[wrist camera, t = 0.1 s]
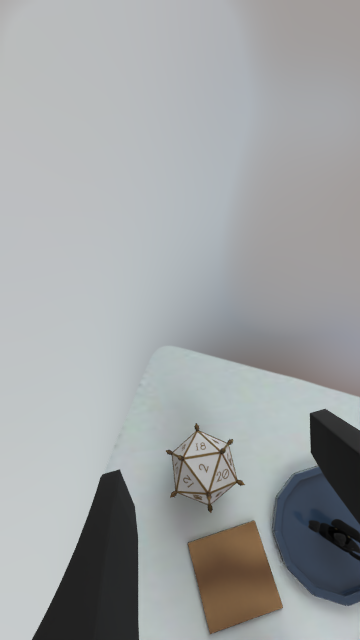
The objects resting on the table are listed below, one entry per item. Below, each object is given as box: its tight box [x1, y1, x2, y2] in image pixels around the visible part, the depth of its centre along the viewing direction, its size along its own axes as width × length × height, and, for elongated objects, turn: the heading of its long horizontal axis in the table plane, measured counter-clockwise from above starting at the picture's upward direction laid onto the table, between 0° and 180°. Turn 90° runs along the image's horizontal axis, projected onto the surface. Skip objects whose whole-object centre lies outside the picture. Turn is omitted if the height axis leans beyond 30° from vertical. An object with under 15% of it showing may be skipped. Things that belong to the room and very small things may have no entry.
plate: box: [272, 466, 360, 606], centre depth 36 cm, size 13×13×1 cm
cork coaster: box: [188, 521, 283, 634], centre depth 35 cm, size 8×8×1 cm
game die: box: [166, 423, 245, 513], centre depth 36 cm, size 9×8×10 cm
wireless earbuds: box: [308, 519, 360, 561], centre depth 34 cm, size 7×2×5 cm, turn 59°
